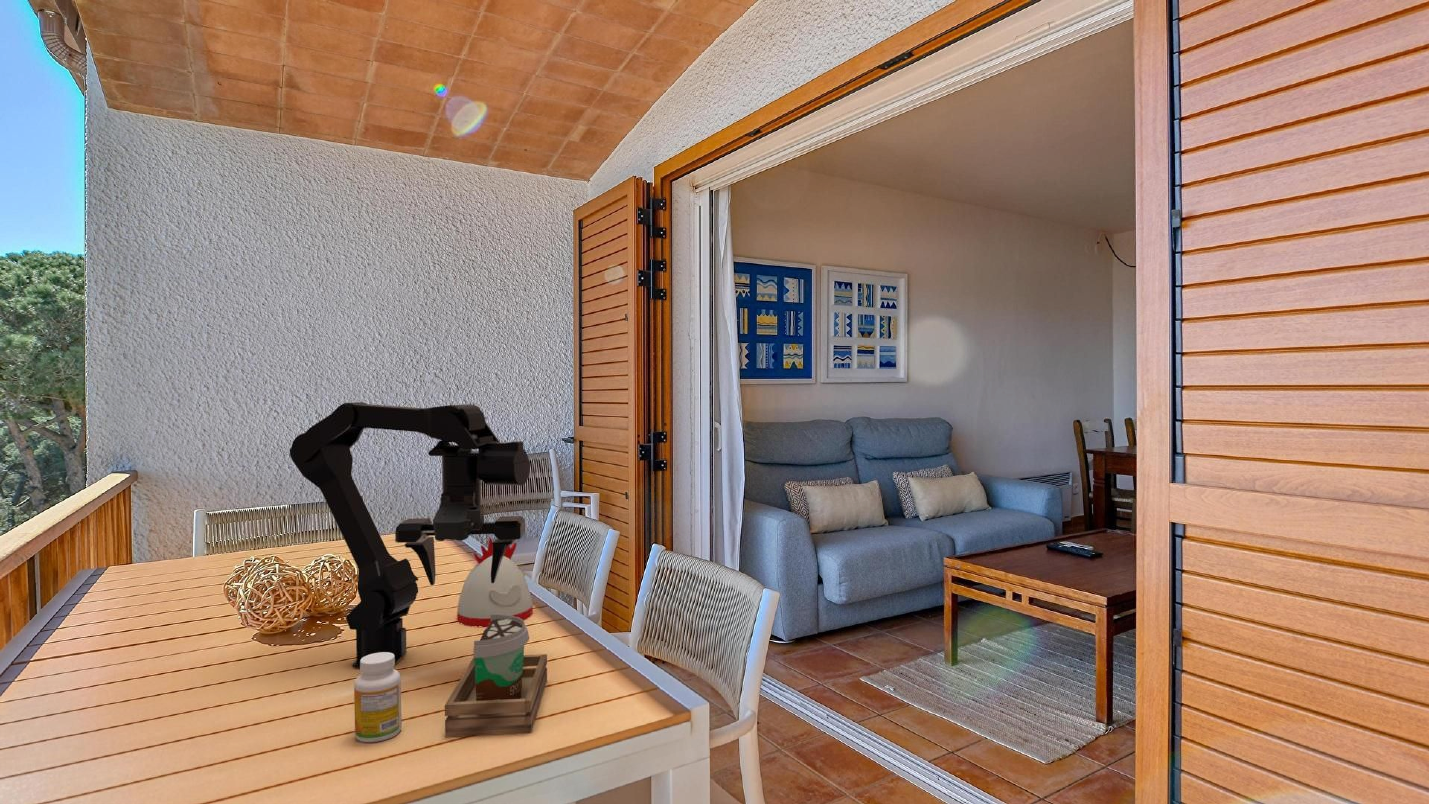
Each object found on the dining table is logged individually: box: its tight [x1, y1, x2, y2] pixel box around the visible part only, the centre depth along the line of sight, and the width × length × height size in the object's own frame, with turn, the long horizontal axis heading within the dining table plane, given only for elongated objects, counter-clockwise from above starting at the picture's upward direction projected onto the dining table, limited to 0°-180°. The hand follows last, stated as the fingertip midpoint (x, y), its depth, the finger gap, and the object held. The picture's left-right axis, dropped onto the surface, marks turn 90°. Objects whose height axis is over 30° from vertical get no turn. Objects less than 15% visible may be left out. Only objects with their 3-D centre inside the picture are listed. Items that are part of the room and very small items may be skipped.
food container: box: [472, 615, 530, 701], centre depth 102 cm, size 12×6×10 cm, turn 6°
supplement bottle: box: [353, 652, 403, 743], centre depth 94 cm, size 5×5×10 cm
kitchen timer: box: [456, 538, 534, 628], centre depth 143 cm, size 14×14×15 cm
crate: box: [444, 653, 548, 738], centre depth 102 cm, size 11×17×4 cm, turn 6°
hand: (463, 583), depth 117 cm, fingers open, 9 cm apart
